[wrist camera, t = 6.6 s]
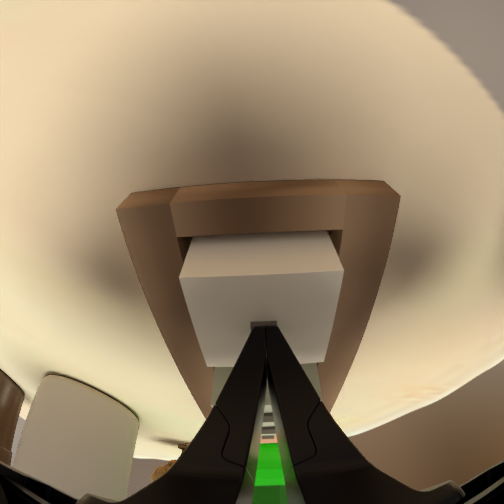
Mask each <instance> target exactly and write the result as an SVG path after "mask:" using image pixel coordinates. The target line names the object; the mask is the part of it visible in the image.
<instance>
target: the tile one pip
mask: <svg viewBox="0 0 504 504" xmlns="http://www.w3.org/2000/svg"><path fill="white" fill-rule="evenodd" d="M343 274H344V269H343V267H342V264H341V262H340V259H339V257H338V255H337V252H336V250H335V248H334V245H333V243H332V241H331V239H330V236H329V234H328V232H327V230H312V231H286V232H263V233H242V234H223V235H204V236H193V238H192V241H191V244H190V247H189V250H188V252H187V255H186V258H185V261H184V264H183V267H182V270H181V273H180V276H179V280H180V283H181V287H182V290H183V294H184V297H185V301H186V304H187V307H188V311H189V314H190V317H191V320H192V323H193V326H194V330H195V333H196V336H197V339H198V342H199V345H200V348H201V351H202V354H203V356H204V359H205V362H206V365H207V367H234V365H235V363H236V361H237V359H238V357H239V355H240V353H241V351H242V349H243V347H244V345H245V343H246V341H247V339H248V337H249V334H250V332H251V330H252V328H253V327H254V326H265V328H266V326H272V325H277V326H278V327H279V329H280V330H281V332H282V334H283V336H284V337H285V339H286V341H287V342H288V344H289V346H290V348H291V349H292V351H293V353H294V354H295V356H296V358H297V360H298V361H299V363H300V364H306V363H317V362H324V359H325V355H326V351H327V347H328V343H329V339H330V335H331V331H332V327H333V323H334V318H335V314H336V309H337V304H338V299H339V295H340V290H341V284H342V279H343ZM266 357H267V353H266Z"/></svg>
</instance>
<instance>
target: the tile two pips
mask: <svg viewBox="0 0 504 504" xmlns="http://www.w3.org/2000/svg"><path fill="white" fill-rule="evenodd" d="M300 365H301V366H302V368H303V370H304V371H305V373H306V375H307V376H308V378H309V380H310V382H311V383H312V385H313V387H314V388H315V390H316V392H317V393H318V395H319V397H320V398H321V401H323V400H322V393H321V387H320V381H319V375H318V369H317V363H306V364H300ZM232 369H233V367H215V368H214V377H213V387H212V397H211V407H212V408H213V406H214V405H215V402H216V400H217V398H218V396H219V394H220V393H221V391H222V389H223V387H224V385H225V383H226V381H227V379H228V377H229V375H230V373H231V371H232ZM265 435H276V430H275V424H274V418H273V412H272V407H271V401H270V395H269V389H268V381H267V390H266V399H265V408H264V416H263V425H262V433H261V436H265Z"/></svg>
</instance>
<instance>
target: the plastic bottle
mask: <svg viewBox="0 0 504 504" xmlns="http://www.w3.org/2000/svg"><path fill="white" fill-rule="evenodd" d="M254 484H255V485H254V492H253V499H252V504H288V498H287V493H286V487H285V481H284V476H283V470H282V464H281V459H280V453H279V447H278V443H260V449H259V456H258V464H257V471H256V478H255V483H254Z"/></svg>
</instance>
